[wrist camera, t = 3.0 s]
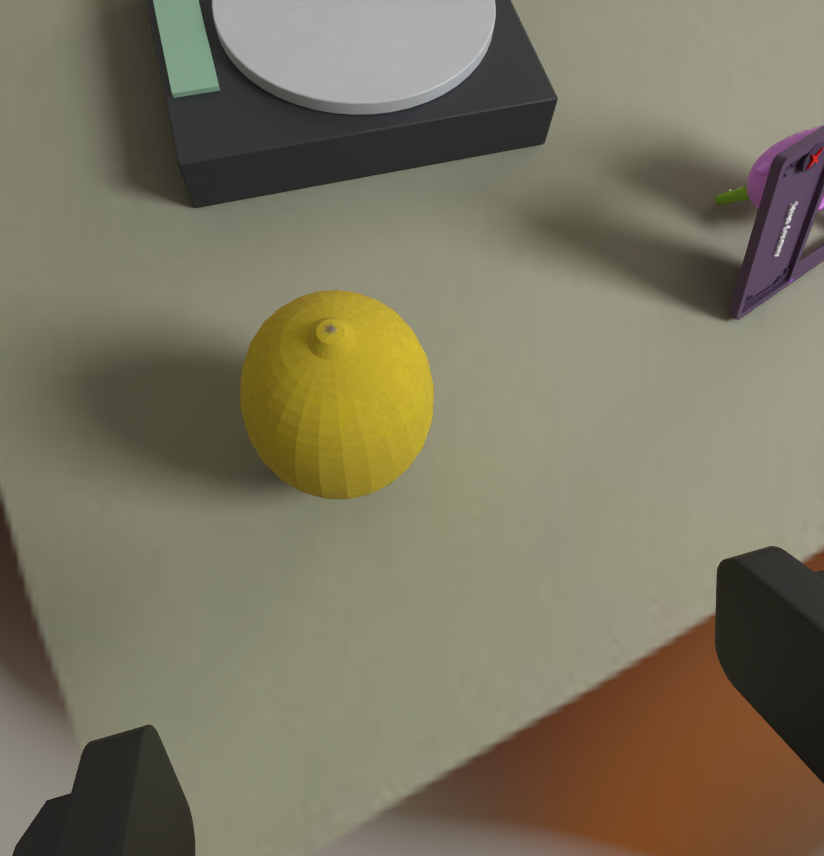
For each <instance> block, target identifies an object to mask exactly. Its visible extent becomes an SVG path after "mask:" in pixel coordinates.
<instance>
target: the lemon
mask: <svg viewBox="0 0 824 856" xmlns="http://www.w3.org/2000/svg"><path fill="white" fill-rule="evenodd" d="M433 399H434V387H433V382H432V377H431V373H430V368H429V364H428V360H427V357H426V354H425V352H424V351H423V349H422V347H421V345H420V343H419V341H418V339H417V337H416V336H415V334H414V332H413V330H412V329H411V328H410V327H409V326H408V325H407V324H406V323H405V322H404V321H403V320H402V318H401V317H400V316H399V315H398V314H397V313H396V312H395V311H393V310H392V309H390V308H389V307H387V306H386V305H384V304H383V303H381V302H380V301H378V300H375V299H372V298H370V297H367V296H364V295H361V294H359V293H354V292H347V291H340V290H333V291H320V292H315V293H312V294H308V295H305V296H302V297H299V298H297V299H295V300H293V301H292V302H290V303H288V304H286V305H284V306H283V307H281V308H279V309H278V310H277V311H276V312H275V313H274V314H273V315H272V316H270V317H269V318H268V319H267V320H266V321H265V322H264V323H263V325H262V326H261V328H260V329H259V331H258V332H257V334H256V335H255V337H254V338H253V340H252V342H251V343H250V346H249V349H248V352H247V355H246V358H245V361H244V364H243V367H242V372H241V387H240V407H241V412H242V416H243V420H244V424H245V428H246V431H247V435H248V437H249V439H250V441H251V442H252V444H253V446H254V448H255V449H256V451H257V453H258V454H259V456H260V458H261V460H262V461H263V462H264V463H265V464H266V465H267V466H268V467H269V468H270V469H271V470H272V471H273V472H274V473H275V474H276V475H277V476H278V477H279V478H280V479H281V480H282V481H284V482H285V483H287V484H289V485H291V486H293V487H294V488H296V489H298V490H300V491H302V492H303V493H307V494H311V495H315V496H318V497H322V498H326V499H351V498H355V497H360V496H364V495H369V494H371V493H373V492H375V491H377V490H379V489H381V488H383V487H385V486H387V485H389V484H391V483H392V482H393V481H394V480H395V479H396V478H398V477H399V476H400V475H401V474H402V473H403V472H405V471H406V470H407V469H408V468H409V467H410V465H411V464H412V462H413V461H414V459H415V458H416V456H417V455H418V453H419V452H420V450H421V449H422V447H423V445H424V443H425V440H426V437H427V434H428V431H429V428H430V425H431V422H432V415H433Z"/></svg>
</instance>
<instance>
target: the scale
mask: <svg viewBox="0 0 824 856" xmlns="http://www.w3.org/2000/svg"><path fill="white" fill-rule="evenodd" d="M146 3H147V8H148V13H149V18H150V23H151V28H152V34H153V39H154V44H155V49H156V54H157V59H158V64H159V69H160V74H161V79H162V84H163V89H164V94H165V99H166V105H167V110H168V115H169V120H170V125H171V130H172V135H173V140H174V145H175V150H176V155H177V160H178V165H179V168H180V170H181V173H182V176H183V179H184V181H185V184H186V187H187V190H188V192H189V195H190V198H191V201H192V203H193V206H194V207H196V208H197V207H202V206H208V205H213V204H219V203H224V202H229V201H235V200H240V199H246V198H251V197H257V196H262V195H267V194H273V193H278V192H284V191H289V190H295V189H300V188H305V187H311V186H316V185H322V184H327V183H333V182H338V181H343V180H349V179H354V178H360V177H365V176H371V175H376V174H382V173H387V172H392V171H398V170H403V169H409V168H414V167H420V166H425V165H430V164H436V163H441V162H447V161H452V160H458V159H463V158H468V157H474V156H479V155H485V154H490V153H496V152H501V151H506V150H512V149H517V148H523V147H528V146H534V145H539V144H543V143H545V140H546V137H547V133H548V130H549V127H550V123H551V120H552V117H553V113H554V110H555V106H556V103H557V99H558V98H557V95H556V93H555V91H554V89H553V87H552V85H551V83H550V81H549V79H548V77H547V75H546V73H545V71H544V68H543V66H542V64H541V62H540V60H539V58H538V56H537V54H536V52H535V50H534V48H533V46H532V44H531V42H530V39H529V37H528V35H527V33H526V31H525V29H524V27H523V25H522V23H521V21H520V19H519V17H518V15H517V13H516V10H515V8H514V6H513V4H512V2H511V0H146Z"/></svg>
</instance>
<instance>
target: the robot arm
mask: <svg viewBox="0 0 824 856" xmlns="http://www.w3.org/2000/svg"><path fill="white" fill-rule="evenodd" d="M715 624H716V625H715V646H716V652H717V655H718V659H719V661H720V664H721V666H722V668H723V670H724V672H725V674H726V676H727V677H728V679H729V680H730V682H731V683H732V684H733V686H734V687H735V688H736V689H737V690H738V691H739V692H740V693H741V694H742V695H743V697H744V698H745V699H746V700H747V701H748V702H749V703H750V704H751V705H752V706H753V708H754V709H755V710H756V711H757V712H758V713H759V714H760V715H761V716H762V717H763V718H764V719H765V721H766V722H767V723H768V724H769V725H770V726H771V727H772V728H773V729H774V730H775V731H776V733H777V734H778V735H779V736H780V737H781V738H782V739H783V740H784V741H785V742H786V743H787V744H788V746H789V747H790V748H791V749H792V750H793V751H794V752H795V753H796V754H797V755H798V756H799V757H800V759H801V760H802V761H803V762H804V763H805V764H806V765H807V766H808V767H809V768H810V769H811V770H812V772H813V773H814V774H815V775H816V776H817V777H818V778H819V779H820V780H821V781H822V782H823V783H824V571H822V570H821V571H818V572H813V571H812V570H811V569H809V568H808V567H807V566H805V565H804V564H803V563H801V562H800V561H798V560H797V559H796V558H794V557H793V556H792V555H790V554H789V553H787V552H786V551H784V550H783V549H781V548H779V547H775V546H769V547H766V548H762V549H759V550H755V551H752V552H748V553H745V554H742V555H738V556H735V557H731V558H728V559H725V560H723V561H721V562H720V564H719V566H718V569H717V587H716V623H715ZM12 856H195V835H194V827H193V821H192V816H191V812H190V808H189V805H188V802H187V800H186V798H185V795H184V793H183V791H182V788H181V786H180V783H179V781H178V779H177V776H176V774H175V772H174V769H173V767H172V765H171V762H170V760H169V758H168V755H167V753H166V751H165V748H164V746H163V744H162V741H161V739H160V737H159V734H158V732H157V731H156V729H155V728H154V727H153V726H152V725H146V726H142V727H139V728H135V729H132V730H128V731H125V732H122V733H118V734H115V735H111V736H108V737H104V738H101V739H97V740H94V741H91V742H89V743H88V744H87V745H86V746H85V748H84V750H83V753H82V756H81V759H80V763H79V767H78V770H77V774H76V778H75V781H74V785H73V789H72V792H71V793H70V794H67V795H64V796H60V797H57V798H54V799H50V800H47V801H46V803H45V804H44V806H43V807H42V808H41V810H40V811H39V813H38V814H37V816H36V817H35V819H34V820H33V822H32V823H31V825H30V826H29V827H28V829H27V830H26V832H25V833H24V835H23V836H22V837H21V839H20V840H19V842H18V843H17V845H16V847H15V850H14V852H13V855H12Z"/></svg>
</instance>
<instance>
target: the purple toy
mask: <svg viewBox="0 0 824 856" xmlns="http://www.w3.org/2000/svg"><path fill="white" fill-rule="evenodd" d="M742 200H750V201H751V202H752V203H753V205H754V206H755V207H756V208H757V209H758V212H757V216H756V219H755V223H754V226H753V230H752V233H751V236H750V240H749V243H748V247H747V250H746V254H745V257H744V261H743V264H742V268H741V271H740V275H739V278H738V282H737V285H736V289H735V292H734V296H733V299H732V303H731V306H730V310H729V315H730V316H732V317H733V318H735V319H737V320H739V319H740V318H742V317H743V316H745V315H746V314H748V313H749V312H751V311H752V310H753V309H755V308H756V307H758V306H759V305H761V304H762V303H763V302H765V301H766V300H768V299H769V298H771V297H772V296H774V295H775V294H776V293H778V292H779V291H781V290H782V289H784V288H785V287H786V286H788V285H789V284H791V283H792V282H794V281H795V280H797V279H798V278H799V277H801V276H802V275H804V274H805V273H807V272H808V271H810V270H811V269H812V268H814V267H815V266H817V265H818V264H820V263H821V262H822V261H824V245H823V246H822V247H820V248H819V249H817V250H816V251H814V252H813V253H812V254H810V255H809V256H807V257H806V258H804V259H803V260H801V261H800V262H799V260H800V258H801V255H802V252H803V249H804V247H805V244H806V241H807V239H808V236H809V233H810V230H811V228H812V225H813V222H814V219H815V217H816V214H817V211H821V210H824V126H818V127H814V128H810V129H806V130H803V131H800V132H798V133H795V134H793V135H791V136H789V137H787V138H785V139H783V140H781V141H780V142H778V143H776V144H775V145H773V146H772V147H771V148H769V149H768V150H767V151H766V152H764V153H763V154H762V155H761V156H760V157H759V158H758V160H757V161H756V162H755V164H754V165H753V167H752V169H751V171H750V173H749V177H748V182H747V184H746V185H745V186H744V187H742V188H738V187H737V189H735V190H733V191H732V190H731V189H729V191H728V192H726V193H723V194H718V196H717V197H716V202H717V204H719V205H723V204H726V203H732V202H735V201H742Z"/></svg>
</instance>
